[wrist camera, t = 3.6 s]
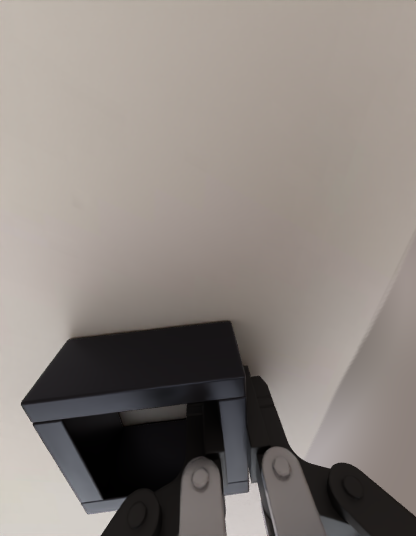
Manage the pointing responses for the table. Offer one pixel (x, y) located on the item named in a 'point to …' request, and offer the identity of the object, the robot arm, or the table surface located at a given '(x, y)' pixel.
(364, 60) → the table surface
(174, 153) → the table surface
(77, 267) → the table surface
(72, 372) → the ring
